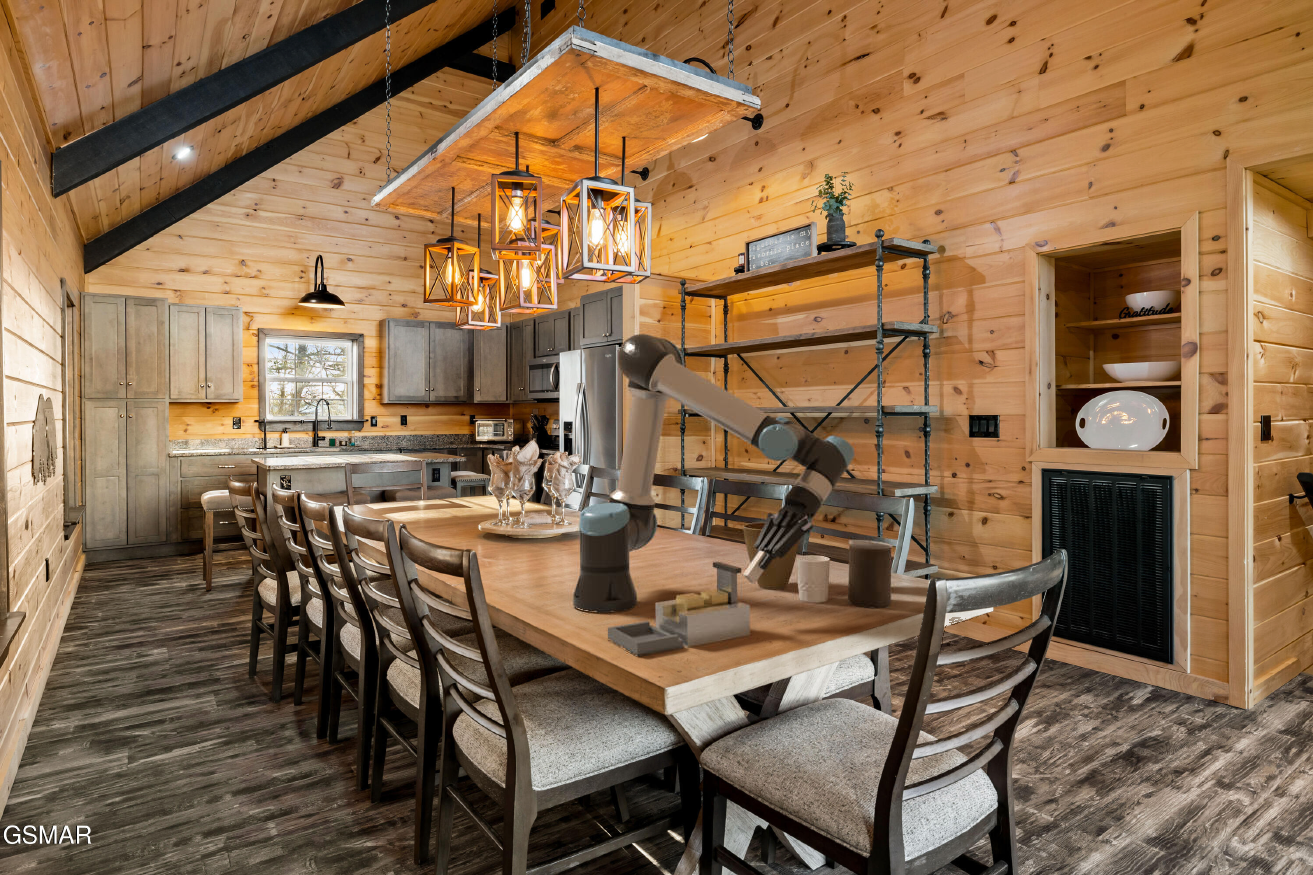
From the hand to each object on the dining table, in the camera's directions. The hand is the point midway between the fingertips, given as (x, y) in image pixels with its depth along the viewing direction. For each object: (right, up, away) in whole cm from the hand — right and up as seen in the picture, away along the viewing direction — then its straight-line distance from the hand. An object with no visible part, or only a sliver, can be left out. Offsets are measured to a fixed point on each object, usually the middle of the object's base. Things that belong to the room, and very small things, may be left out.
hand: (748, 578), depth 153 cm
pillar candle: (+31, -9, +18) cm, 37 cm away
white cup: (+18, -9, +22) cm, 30 cm away
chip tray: (-22, -10, -12) cm, 27 cm away
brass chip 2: (-8, -6, -4) cm, 10 cm away
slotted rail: (-11, -10, -6) cm, 16 cm away
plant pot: (+11, -9, +36) cm, 39 cm away
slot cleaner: (-5, -6, -2) cm, 8 cm away
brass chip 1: (-13, -6, -7) cm, 16 cm away
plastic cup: (+35, -9, +33) cm, 49 cm away
